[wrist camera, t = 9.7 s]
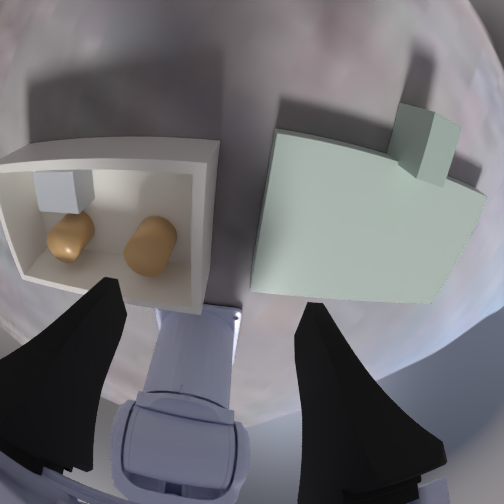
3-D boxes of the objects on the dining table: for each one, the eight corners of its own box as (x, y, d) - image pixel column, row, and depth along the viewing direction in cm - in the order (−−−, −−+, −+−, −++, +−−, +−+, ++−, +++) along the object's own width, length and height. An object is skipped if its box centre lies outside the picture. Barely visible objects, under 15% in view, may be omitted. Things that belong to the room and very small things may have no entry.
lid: (424, 291, 23) (441, 321, 20) (250, 276, 22) (248, 315, 18) (487, 148, 14) (521, 167, 11) (284, 70, 13) (294, 65, 10)
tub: (210, 267, 21) (201, 315, 17) (50, 245, 20) (22, 279, 16) (220, 140, 16) (206, 163, 12) (30, 143, 15) (-12, 166, 11)
